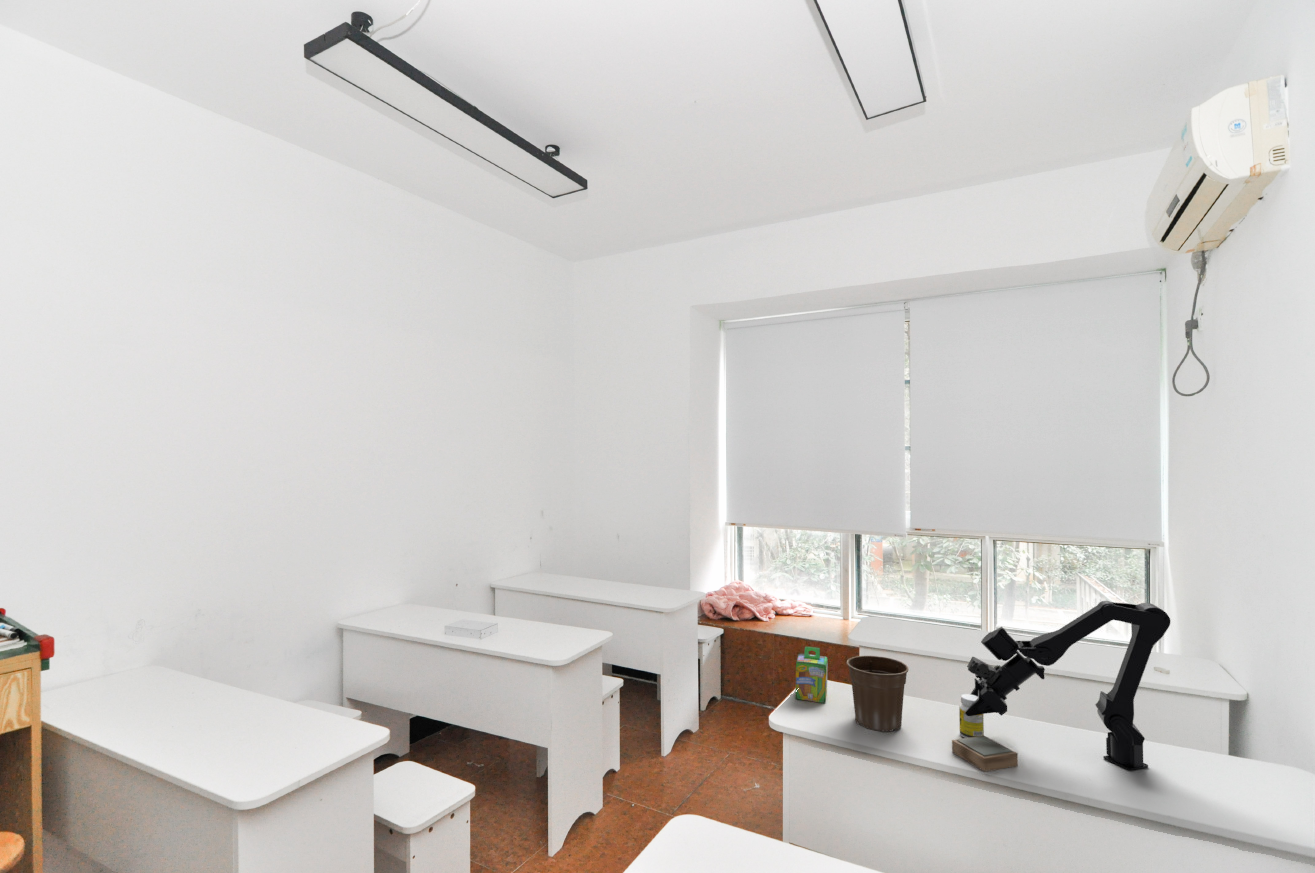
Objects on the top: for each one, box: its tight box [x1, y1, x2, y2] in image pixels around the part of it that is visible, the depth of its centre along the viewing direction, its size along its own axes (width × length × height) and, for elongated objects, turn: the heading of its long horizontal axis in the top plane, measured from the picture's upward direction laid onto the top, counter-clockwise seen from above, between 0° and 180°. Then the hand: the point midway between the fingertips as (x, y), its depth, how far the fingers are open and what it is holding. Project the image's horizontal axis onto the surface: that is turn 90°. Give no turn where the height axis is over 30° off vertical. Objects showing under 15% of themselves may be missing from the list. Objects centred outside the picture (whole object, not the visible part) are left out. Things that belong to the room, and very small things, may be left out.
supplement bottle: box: [958, 693, 985, 738], centre depth 161 cm, size 6×6×10 cm
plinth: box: [951, 734, 1019, 773], centre depth 149 cm, size 10×10×3 cm
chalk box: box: [794, 646, 829, 704], centre depth 188 cm, size 9×9×15 cm
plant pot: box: [846, 655, 909, 732], centre depth 169 cm, size 16×16×16 cm
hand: (965, 710), depth 162 cm, fingers closed on supplement bottle, 6 cm apart
